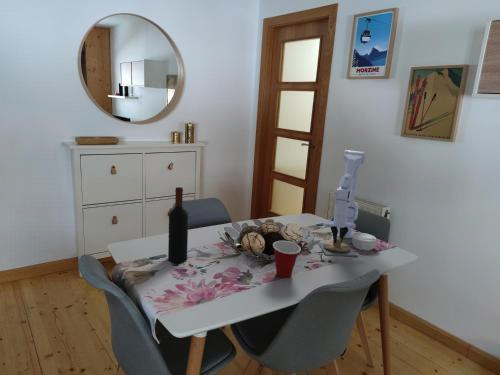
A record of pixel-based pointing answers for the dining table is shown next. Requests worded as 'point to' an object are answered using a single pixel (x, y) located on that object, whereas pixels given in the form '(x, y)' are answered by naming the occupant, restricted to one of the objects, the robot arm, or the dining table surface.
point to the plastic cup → (285, 257)
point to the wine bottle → (178, 230)
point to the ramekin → (363, 241)
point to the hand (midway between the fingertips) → (337, 242)
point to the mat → (333, 253)
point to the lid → (336, 246)
